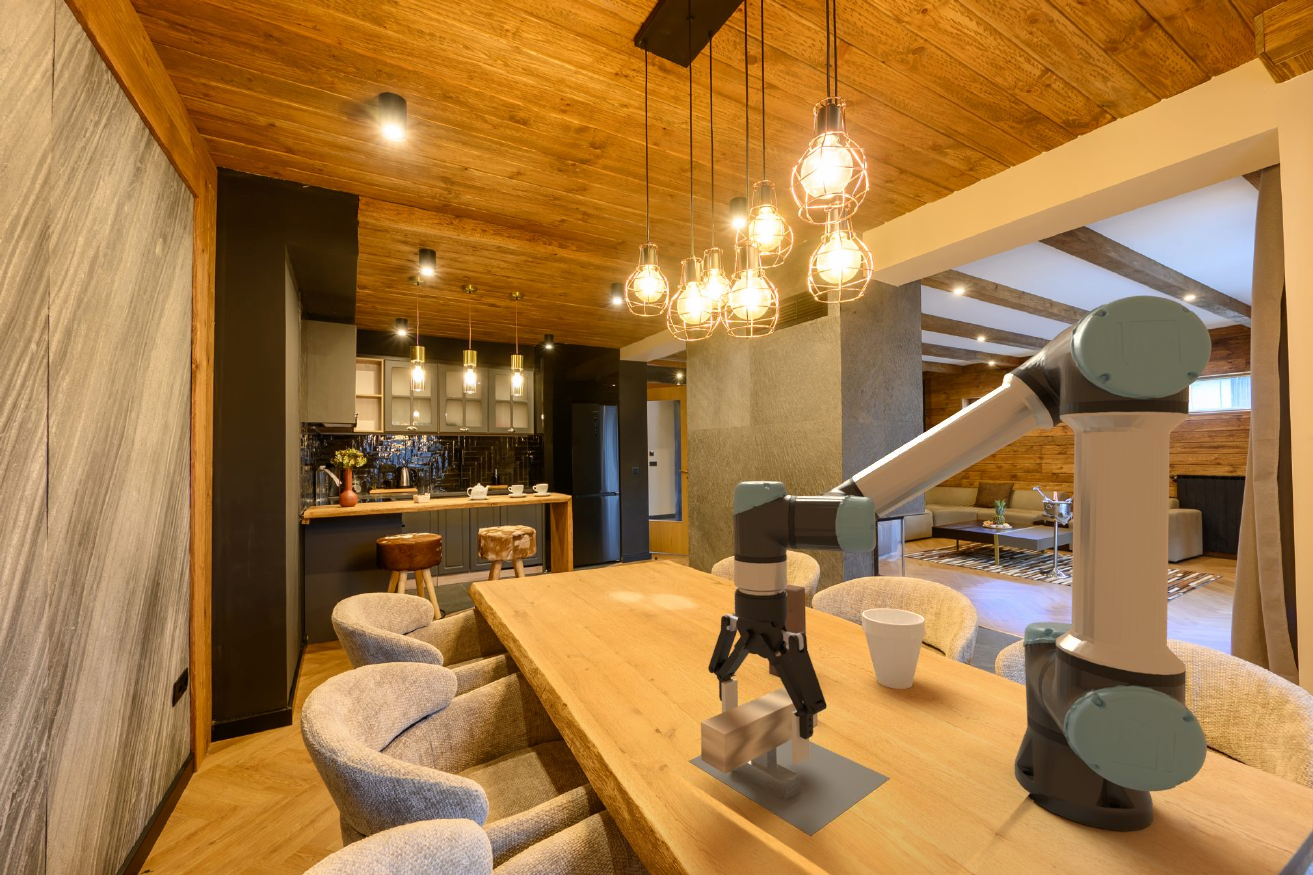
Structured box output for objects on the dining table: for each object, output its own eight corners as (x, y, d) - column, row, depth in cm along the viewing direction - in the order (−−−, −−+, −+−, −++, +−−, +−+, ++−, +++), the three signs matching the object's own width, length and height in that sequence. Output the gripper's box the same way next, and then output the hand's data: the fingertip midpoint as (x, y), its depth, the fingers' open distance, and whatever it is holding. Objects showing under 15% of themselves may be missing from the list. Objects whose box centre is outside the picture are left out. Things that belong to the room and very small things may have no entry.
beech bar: (725, 774, 71) (724, 734, 72) (701, 759, 75) (700, 722, 75) (817, 725, 84) (816, 692, 84) (793, 715, 87) (793, 683, 88)
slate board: (890, 785, 80) (890, 778, 80) (810, 844, 68) (810, 835, 68) (769, 728, 97) (769, 722, 97) (688, 767, 85) (688, 761, 85)
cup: (850, 676, 119) (848, 612, 120) (893, 667, 124) (891, 605, 125) (895, 699, 108) (893, 627, 108) (941, 688, 113) (939, 620, 113)
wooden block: (787, 680, 118) (785, 594, 118) (768, 675, 121) (766, 591, 121) (807, 668, 124) (805, 586, 125) (789, 663, 127) (787, 584, 128)
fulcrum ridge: (799, 794, 76) (799, 753, 76) (786, 802, 74) (785, 760, 74) (744, 763, 84) (744, 726, 84) (730, 770, 82) (730, 732, 82)
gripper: (851, 600, 73) (855, 768, 72) (718, 572, 92) (720, 705, 91) (817, 610, 68) (821, 790, 67) (684, 579, 87) (686, 718, 86)
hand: (763, 741), depth 79 cm, fingers open, 12 cm apart
